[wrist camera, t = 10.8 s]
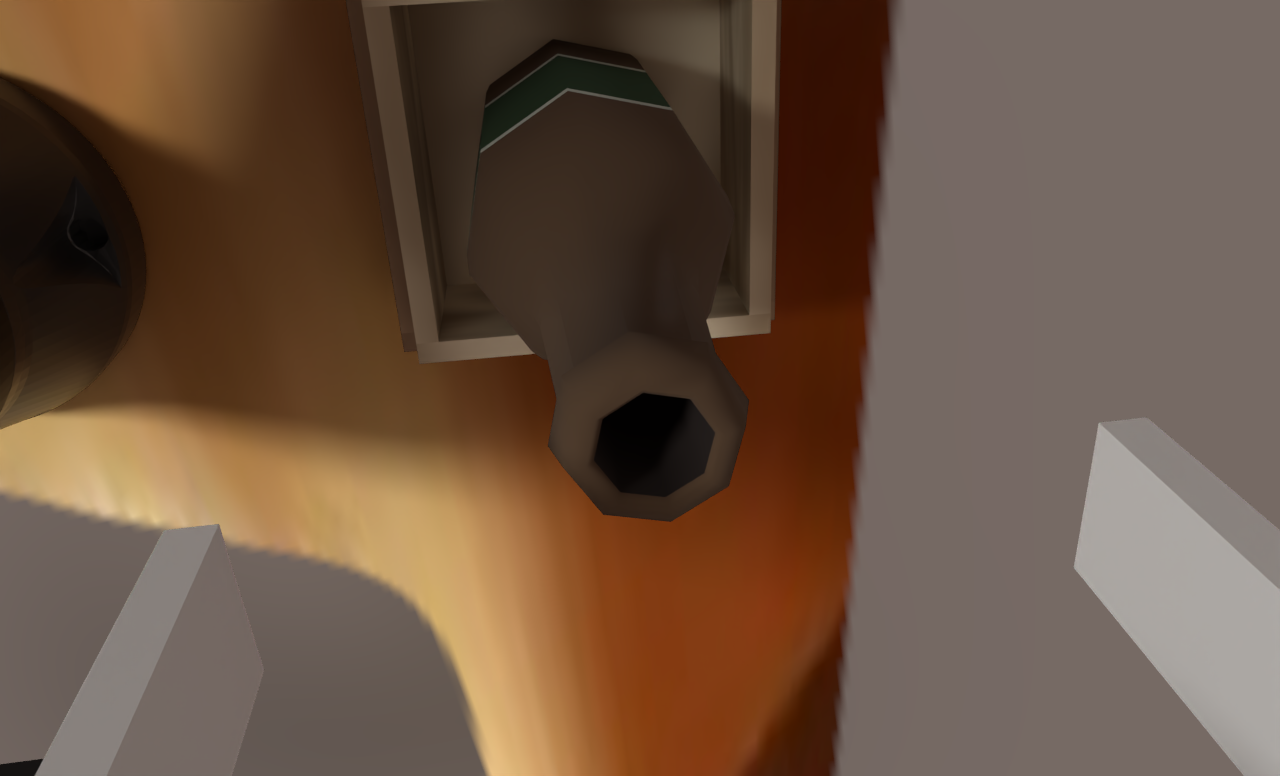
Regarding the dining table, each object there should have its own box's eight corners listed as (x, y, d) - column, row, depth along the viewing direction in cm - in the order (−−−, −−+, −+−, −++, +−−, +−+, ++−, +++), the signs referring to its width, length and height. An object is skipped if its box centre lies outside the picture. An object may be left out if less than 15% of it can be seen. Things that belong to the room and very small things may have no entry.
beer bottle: (654, 12, 37) (849, 193, 16) (689, 210, 41) (885, 573, 20) (449, 57, 37) (371, 300, 16) (502, 252, 41) (496, 663, 19)
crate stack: (416, 295, 45) (395, 390, 37) (359, -70, 38) (318, -55, 30) (744, 268, 46) (795, 354, 38) (746, -90, 39) (809, -81, 31)
